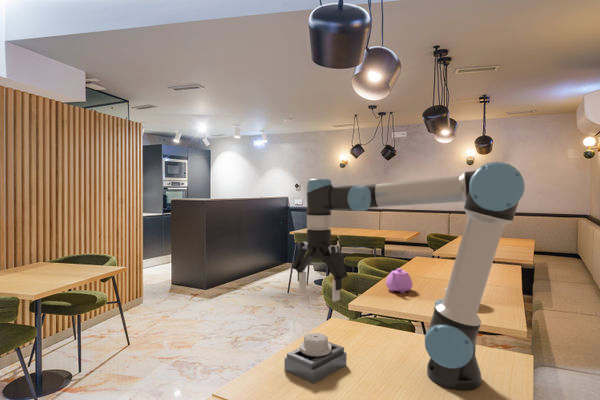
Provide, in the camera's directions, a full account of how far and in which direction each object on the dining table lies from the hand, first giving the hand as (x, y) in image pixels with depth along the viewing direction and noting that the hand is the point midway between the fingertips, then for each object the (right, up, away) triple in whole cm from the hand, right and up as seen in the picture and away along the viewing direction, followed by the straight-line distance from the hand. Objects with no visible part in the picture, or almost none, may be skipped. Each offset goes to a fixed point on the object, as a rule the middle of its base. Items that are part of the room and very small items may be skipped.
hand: (318, 296), depth 121 cm
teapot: (+48, -20, +90) cm, 104 cm away
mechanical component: (-1, -18, +1) cm, 18 cm away
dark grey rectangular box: (0, -23, +2) cm, 23 cm away
